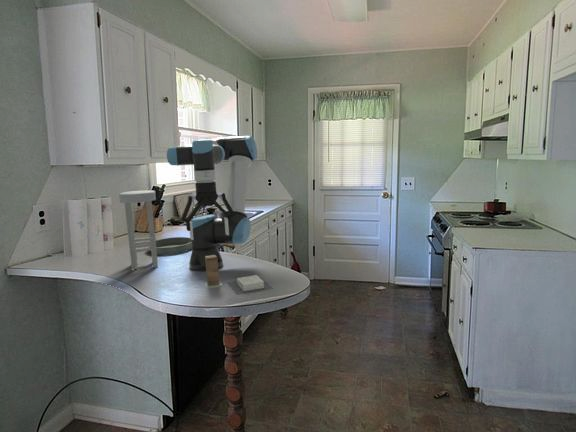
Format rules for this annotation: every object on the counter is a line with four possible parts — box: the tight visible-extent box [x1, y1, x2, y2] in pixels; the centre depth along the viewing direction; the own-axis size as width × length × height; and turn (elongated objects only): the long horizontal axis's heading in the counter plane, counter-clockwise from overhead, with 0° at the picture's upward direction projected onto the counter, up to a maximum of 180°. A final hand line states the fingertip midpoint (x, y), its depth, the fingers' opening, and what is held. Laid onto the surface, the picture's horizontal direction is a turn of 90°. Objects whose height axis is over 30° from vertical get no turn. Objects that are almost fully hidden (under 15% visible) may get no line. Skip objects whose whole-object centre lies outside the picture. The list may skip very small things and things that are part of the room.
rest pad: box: [203, 280, 223, 290], centre depth 162 cm, size 6×6×1 cm
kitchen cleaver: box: [218, 244, 236, 249], centre depth 233 cm, size 24×1×10 cm
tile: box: [236, 274, 264, 291], centre depth 158 cm, size 3×8×9 cm
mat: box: [227, 276, 273, 295], centre depth 159 cm, size 15×14×1 cm
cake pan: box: [148, 236, 192, 255], centre depth 226 cm, size 25×25×4 cm
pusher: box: [205, 255, 220, 286], centre depth 161 cm, size 4×4×11 cm
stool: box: [119, 189, 159, 270], centre depth 193 cm, size 16×16×35 cm
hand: (209, 236), depth 159 cm, fingers open, 13 cm apart
